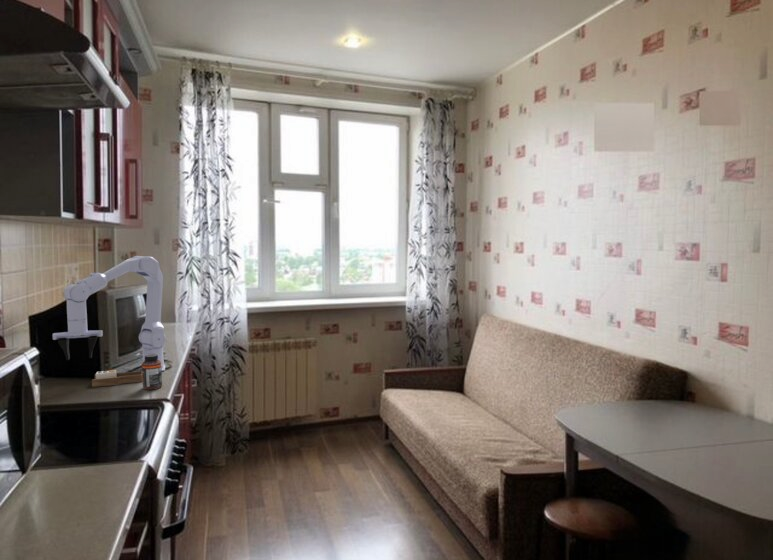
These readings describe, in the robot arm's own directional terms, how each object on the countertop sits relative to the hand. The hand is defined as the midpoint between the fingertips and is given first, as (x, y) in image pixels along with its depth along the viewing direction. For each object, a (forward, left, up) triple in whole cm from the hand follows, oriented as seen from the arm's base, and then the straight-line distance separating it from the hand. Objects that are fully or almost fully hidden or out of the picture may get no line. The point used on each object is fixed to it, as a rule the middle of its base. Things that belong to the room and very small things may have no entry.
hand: (79, 358), depth 174 cm
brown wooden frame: (0, +12, -9) cm, 15 cm away
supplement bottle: (+13, +23, -10) cm, 28 cm away
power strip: (0, +8, -10) cm, 12 cm away
